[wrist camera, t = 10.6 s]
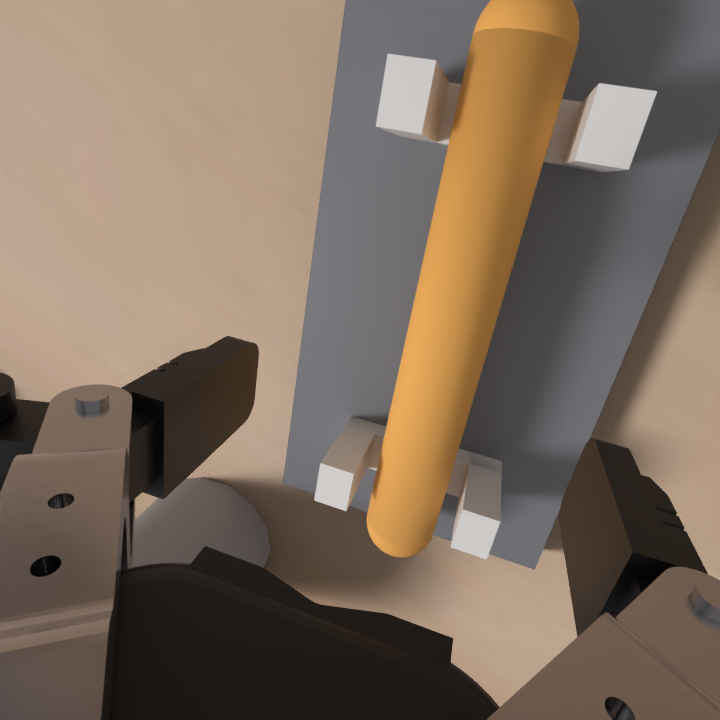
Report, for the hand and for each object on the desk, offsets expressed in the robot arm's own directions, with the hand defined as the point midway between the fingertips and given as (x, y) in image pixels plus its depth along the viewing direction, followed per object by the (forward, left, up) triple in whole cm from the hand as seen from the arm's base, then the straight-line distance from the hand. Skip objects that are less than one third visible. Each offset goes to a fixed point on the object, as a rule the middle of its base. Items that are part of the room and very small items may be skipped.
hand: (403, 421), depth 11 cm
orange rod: (0, 0, -10) cm, 10 cm away
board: (0, 0, -12) cm, 12 cm away
